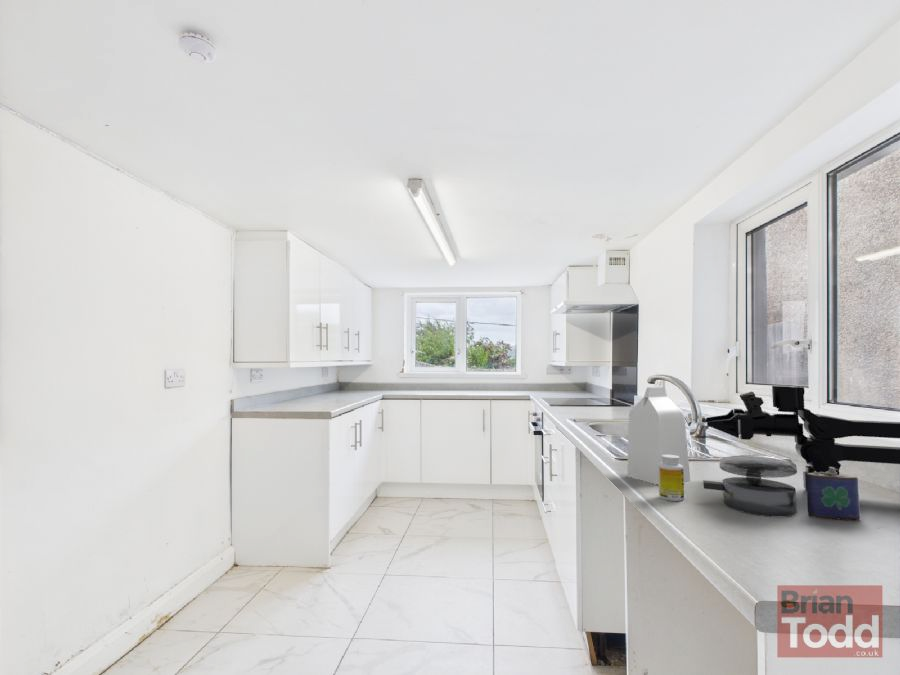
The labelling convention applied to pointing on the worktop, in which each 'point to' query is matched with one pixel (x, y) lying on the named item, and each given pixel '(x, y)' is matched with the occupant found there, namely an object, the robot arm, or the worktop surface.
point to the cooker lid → (758, 466)
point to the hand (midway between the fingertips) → (706, 421)
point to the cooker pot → (756, 495)
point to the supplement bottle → (671, 478)
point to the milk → (655, 435)
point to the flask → (832, 495)
